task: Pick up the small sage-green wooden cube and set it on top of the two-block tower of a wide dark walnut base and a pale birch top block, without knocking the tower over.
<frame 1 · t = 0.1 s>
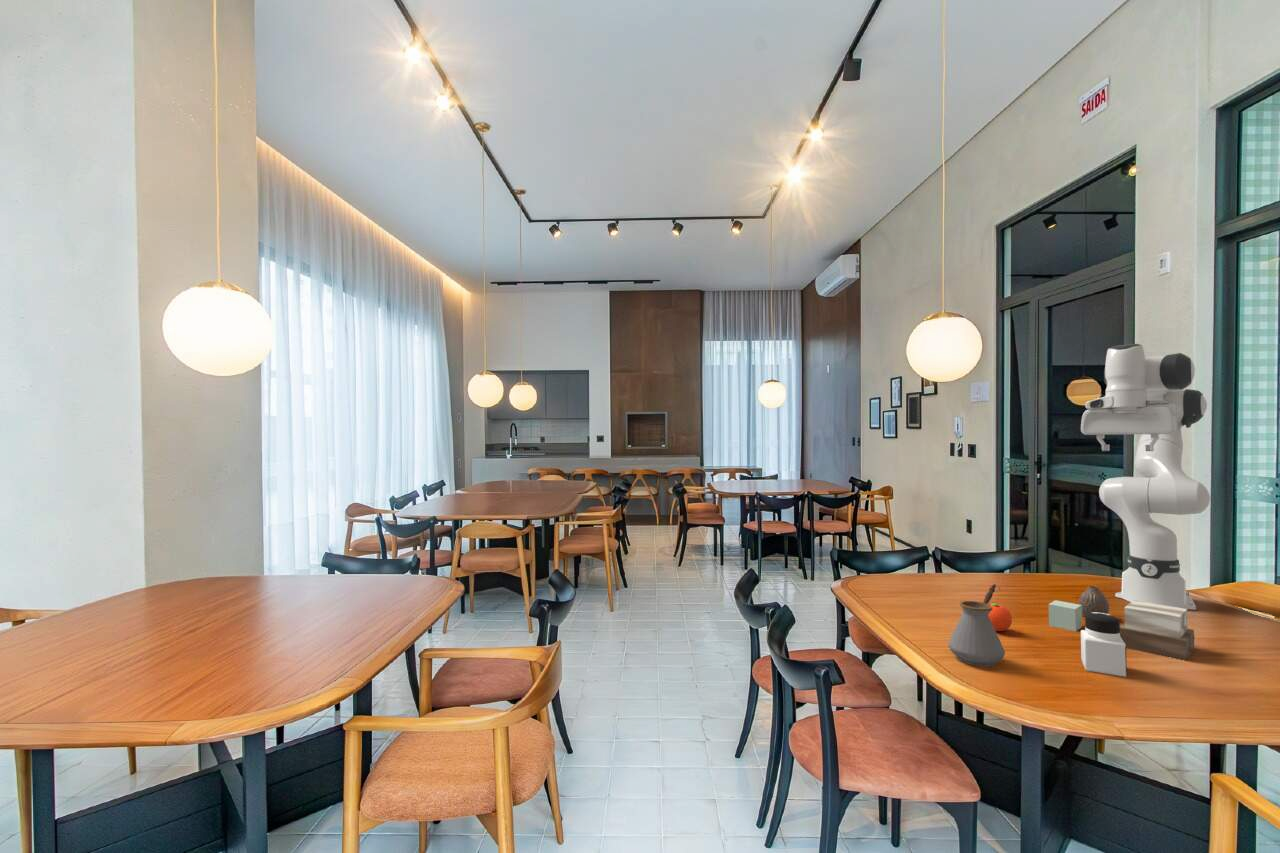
hand: (1127, 451, 158), 48 cm above the table, tool pointing down, fingers open, 8 cm apart
coffee pot: (983, 655, 136), on the table
sage cube: (1065, 626, 156), on the table
tower base: (1156, 649, 140), on the table
tower top: (1156, 628, 140), point 5 cm above the table
medicine bottle: (1103, 669, 127), on the table
clementine: (995, 630, 153), on the table
brown ridged oval lump: (1094, 618, 163), on the table
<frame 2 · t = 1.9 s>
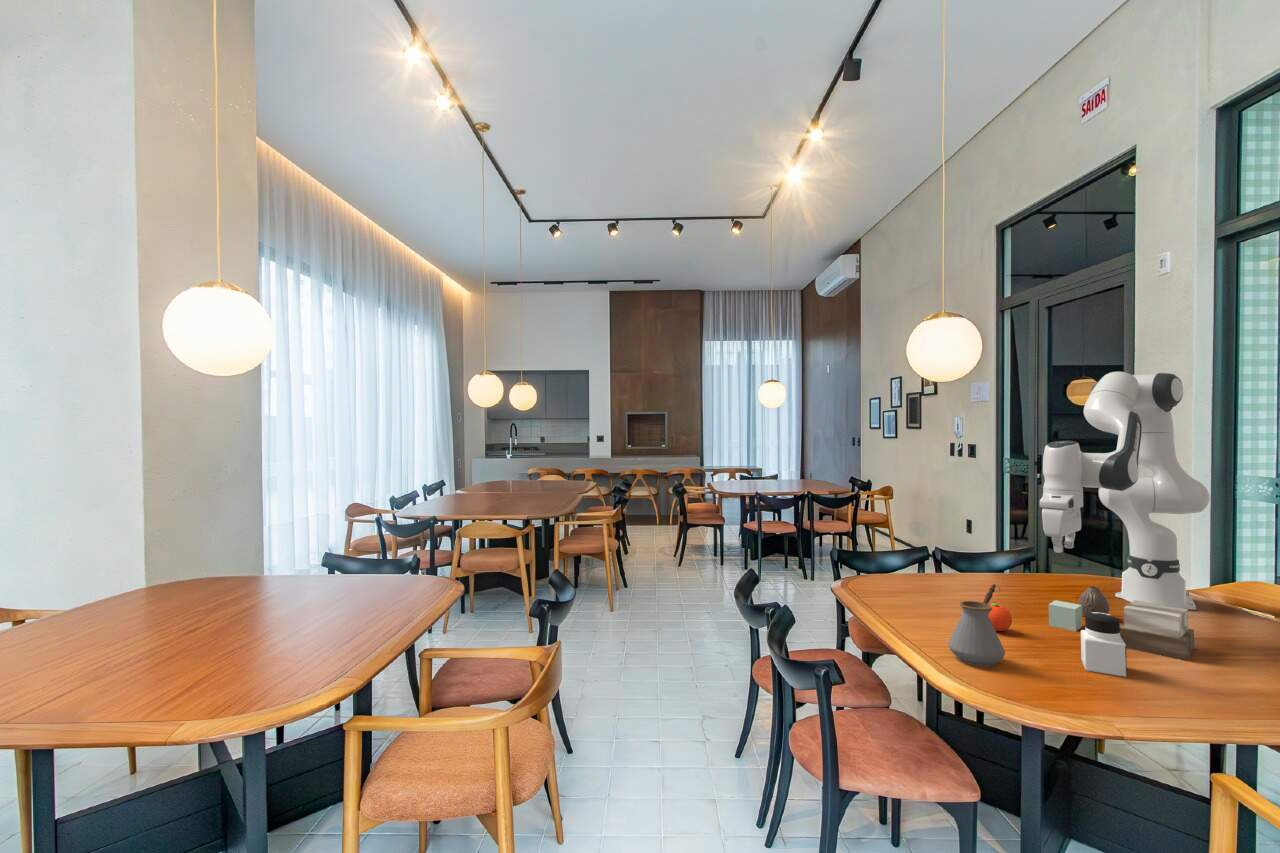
hand: (1063, 550, 156), 21 cm above the table, tool pointing down, fingers open, 8 cm apart
tower base: (1156, 649, 140), on the table, touching tower top
tower top: (1156, 628, 140), point 5 cm above the table, touching tower base
everything else where it was.
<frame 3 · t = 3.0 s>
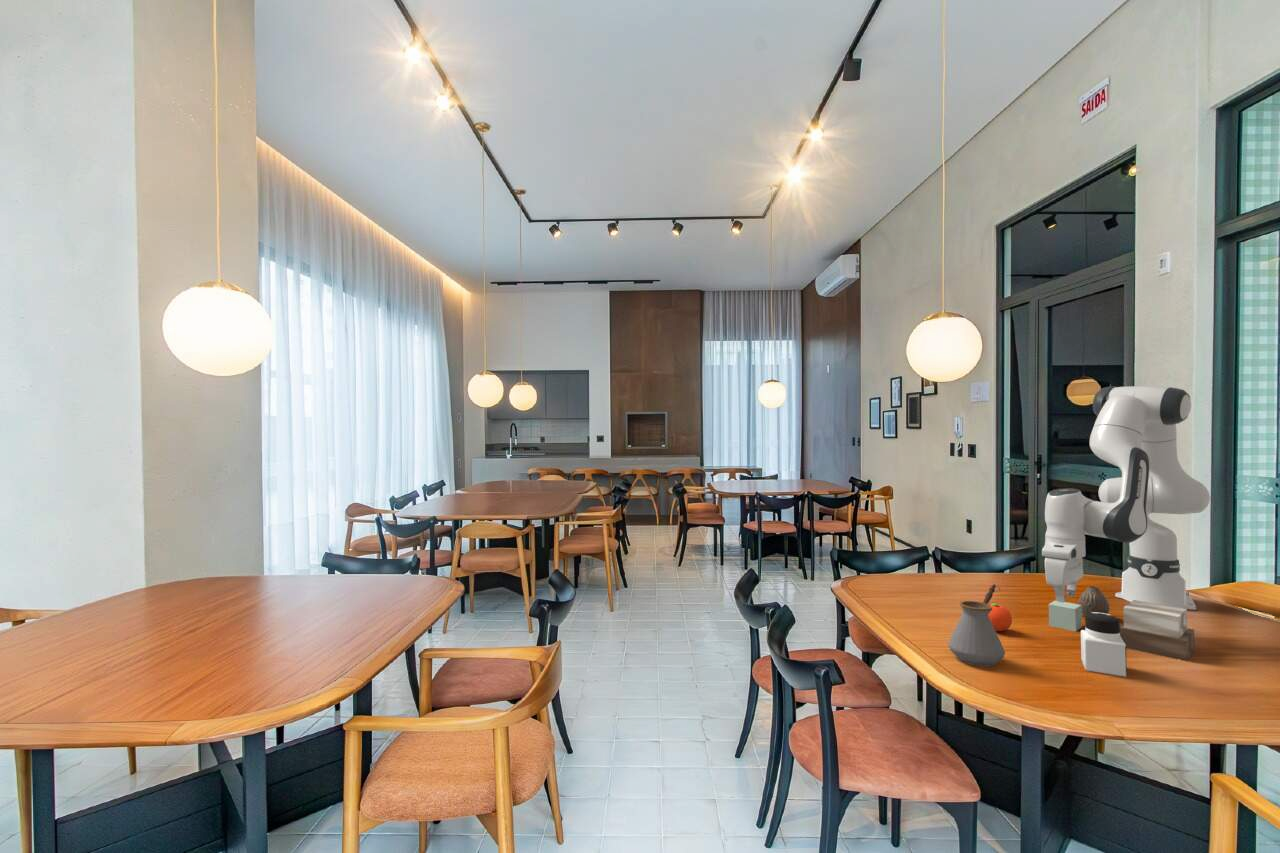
hand: (1066, 598, 155), 8 cm above the table, tool pointing down, fingers open, 8 cm apart
tower base: (1157, 649, 140), on the table
tower top: (1155, 628, 140), point 5 cm above the table
everything else where it was.
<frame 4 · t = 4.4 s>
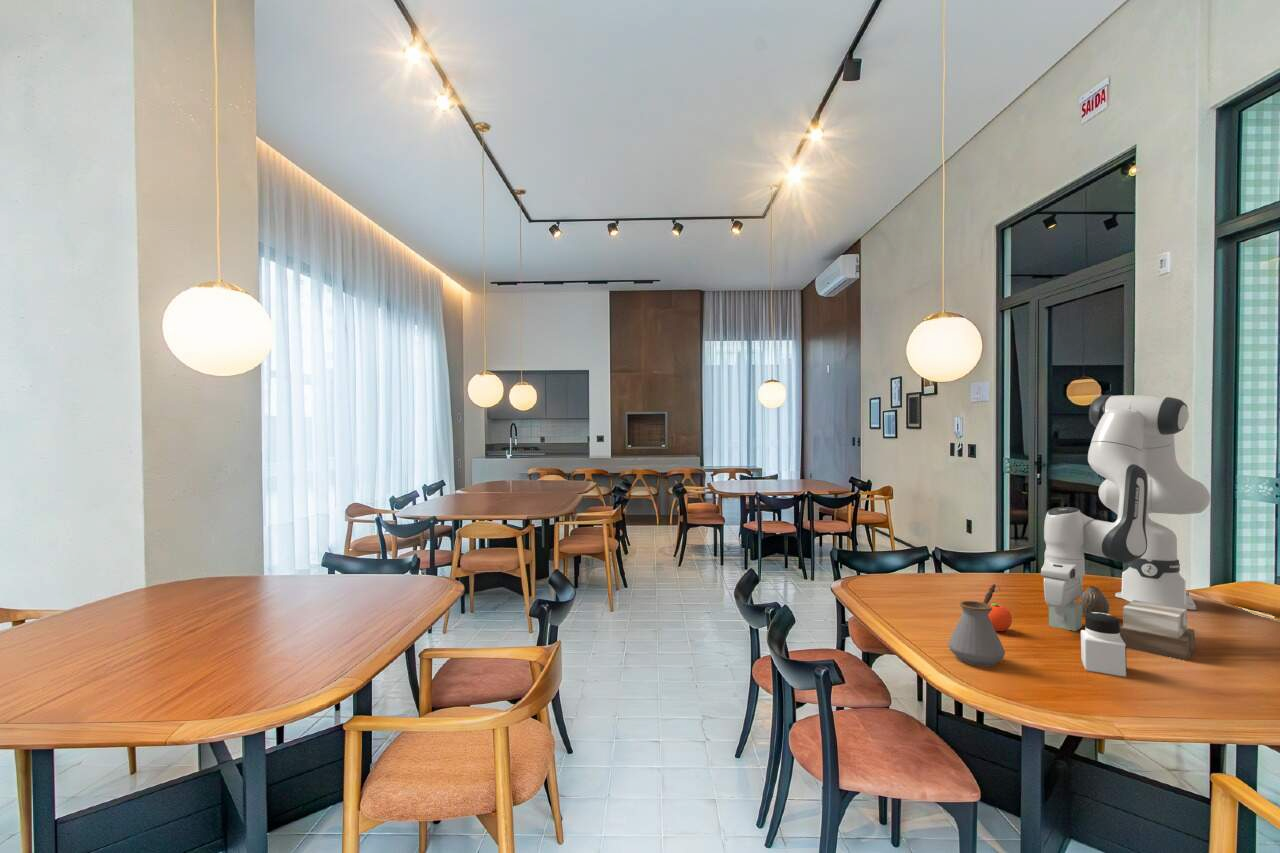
hand: (1065, 617, 156), 2 cm above the table, tool pointing down, fingers closed on sage cube, 6 cm apart
sage cube: (1065, 626, 156), on the table, touching gripper
everything else where it was.
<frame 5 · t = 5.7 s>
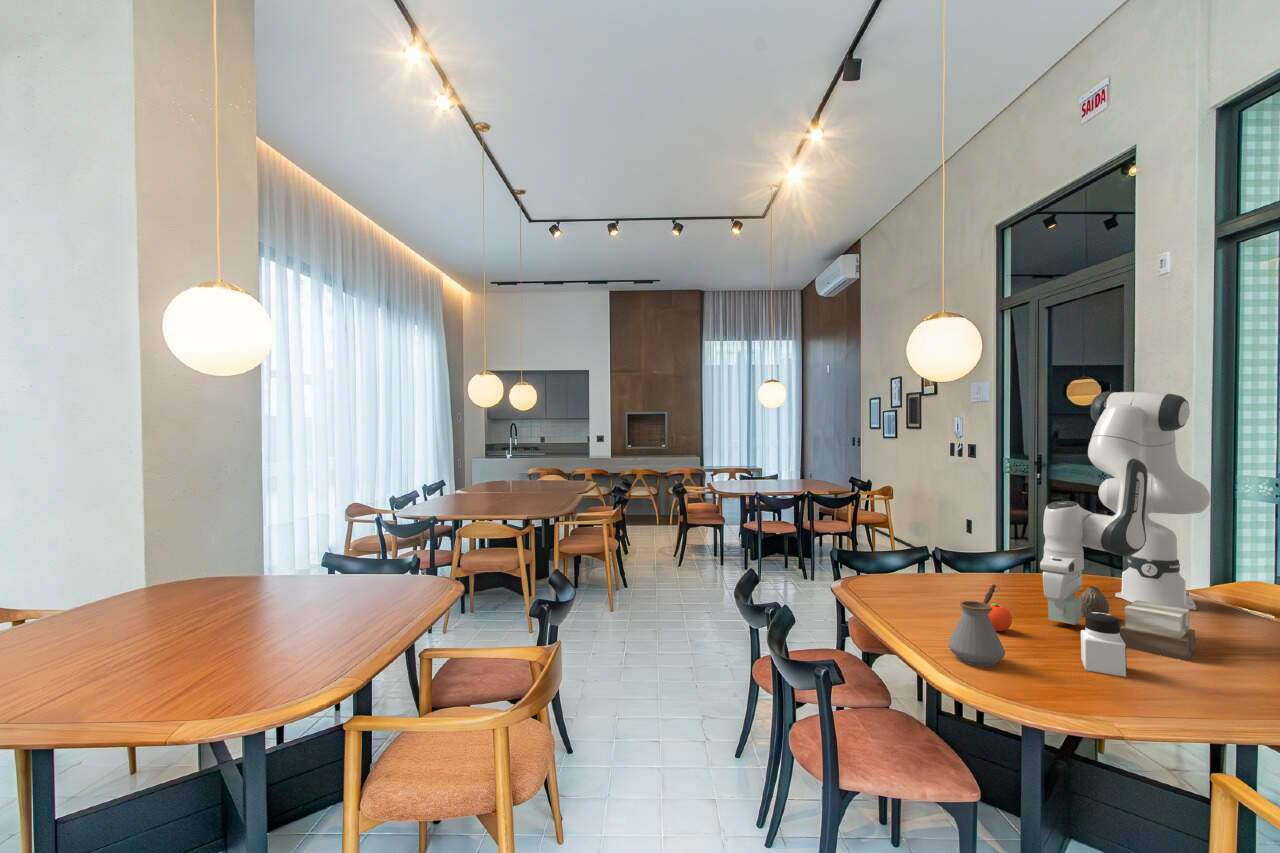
hand: (1064, 611, 156), 4 cm above the table, tool pointing down, fingers closed on sage cube, 6 cm apart
sage cube: (1064, 619, 156), point 2 cm above the table, touching gripper
everything else where it was.
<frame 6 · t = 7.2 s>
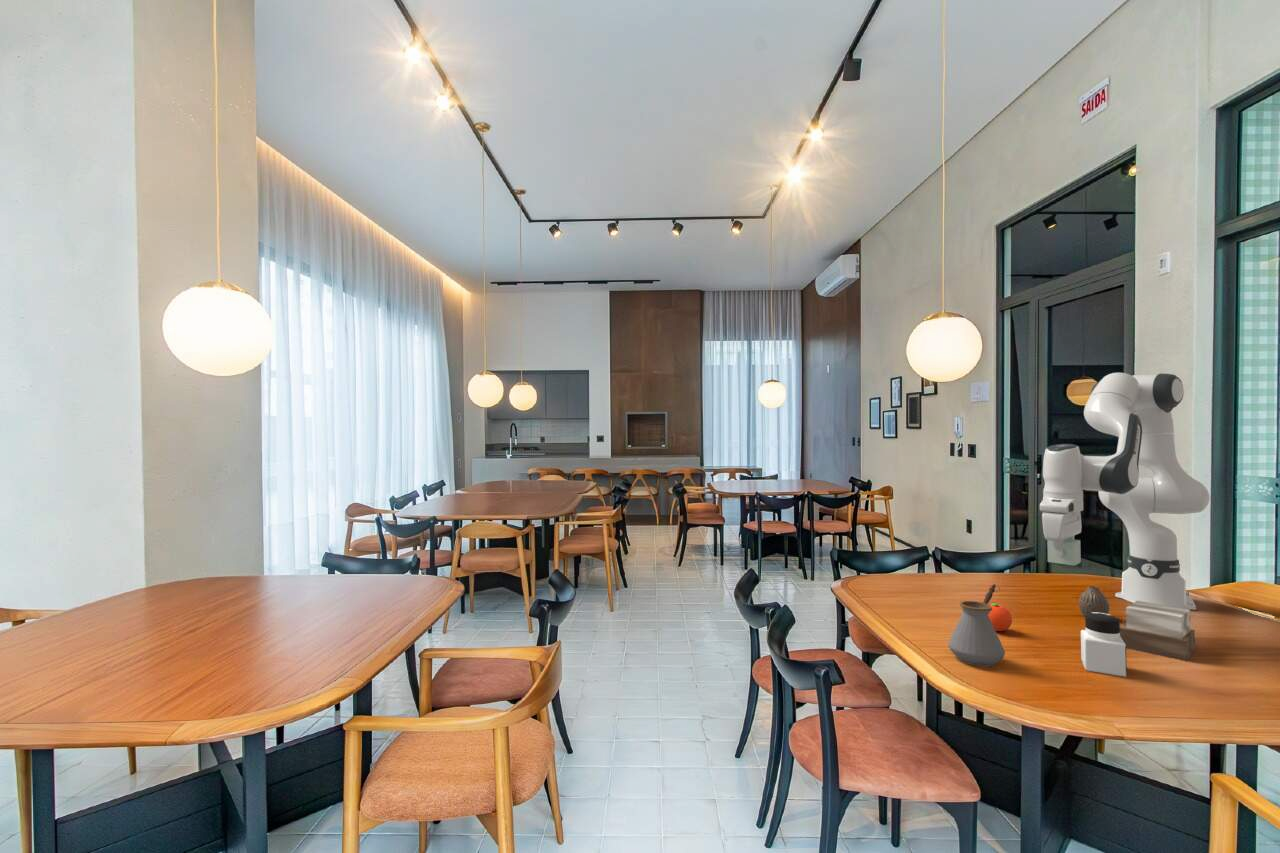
hand: (1064, 553, 156), 20 cm above the table, tool pointing down, fingers closed on sage cube, 6 cm apart
sage cube: (1064, 561, 156), point 17 cm above the table, touching gripper
tower base: (1157, 649, 140), on the table, touching tower top
tower top: (1158, 629, 139), point 5 cm above the table, touching tower base
everything else where it was.
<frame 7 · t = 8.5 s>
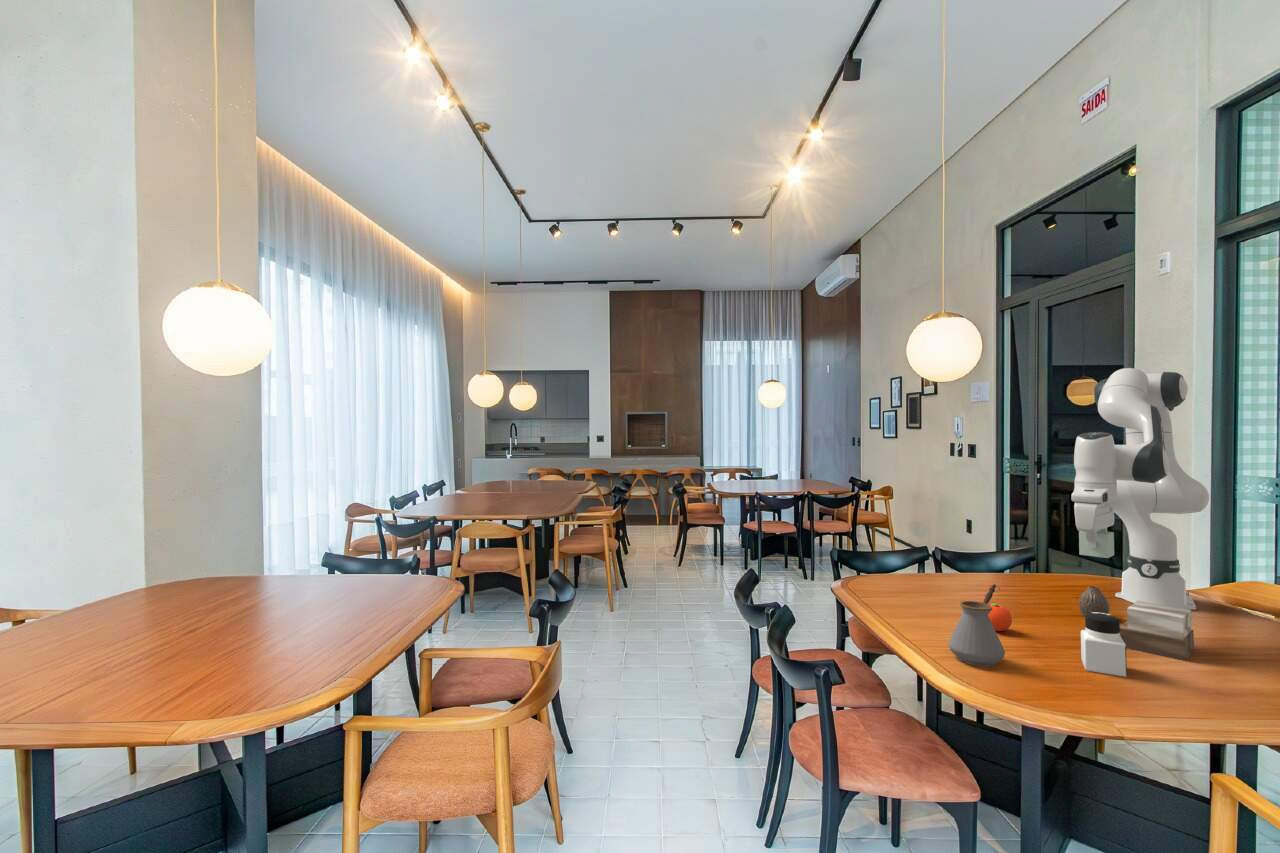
hand: (1096, 545, 150), 23 cm above the table, tool pointing down, fingers closed on sage cube, 6 cm apart
sage cube: (1096, 554, 150), point 21 cm above the table, touching gripper
tower base: (1156, 649, 140), on the table
tower top: (1159, 629, 139), point 5 cm above the table
everything else where it was.
when the fingers open (13 cm above the table, at t = 12.2 s): sage cube drops 1 cm, point 10 cm above the table.
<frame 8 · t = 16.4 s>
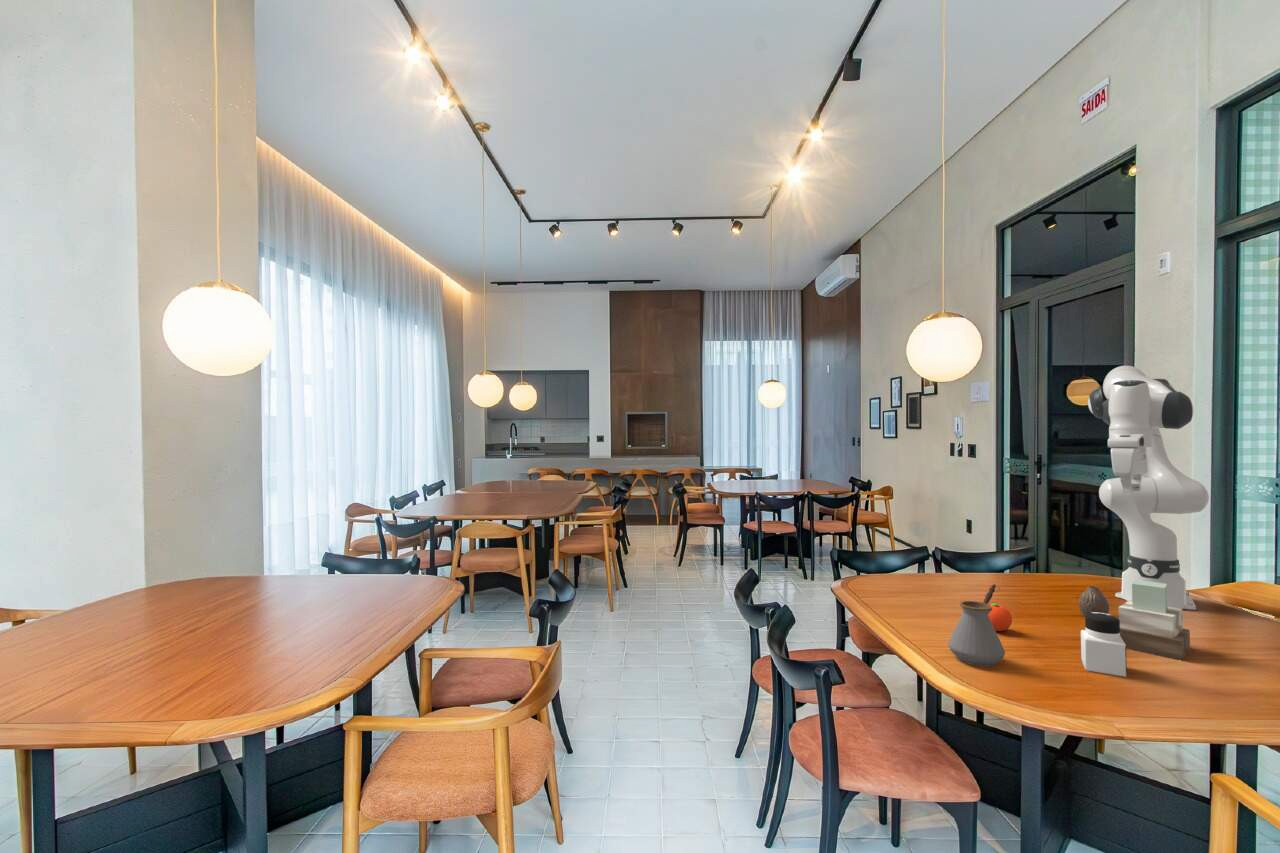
hand: (1131, 491, 152), 37 cm above the table, tool pointing down, fingers open, 8 cm apart
sage cube: (1150, 608, 140), point 10 cm above the table
tower base: (1152, 649, 140), on the table, touching tower top
tower top: (1150, 628, 140), point 5 cm above the table, touching tower base
everything else where it was.
at the end: sage cube 0.3 cm off-centre on the tower top, point 5.0 cm above the tower top's base; tower top 0.3 cm off-centre on the tower base, point 5.0 cm above the tower base's base; sage cube tilted 0° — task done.
